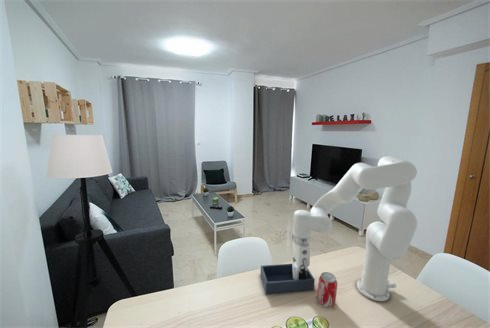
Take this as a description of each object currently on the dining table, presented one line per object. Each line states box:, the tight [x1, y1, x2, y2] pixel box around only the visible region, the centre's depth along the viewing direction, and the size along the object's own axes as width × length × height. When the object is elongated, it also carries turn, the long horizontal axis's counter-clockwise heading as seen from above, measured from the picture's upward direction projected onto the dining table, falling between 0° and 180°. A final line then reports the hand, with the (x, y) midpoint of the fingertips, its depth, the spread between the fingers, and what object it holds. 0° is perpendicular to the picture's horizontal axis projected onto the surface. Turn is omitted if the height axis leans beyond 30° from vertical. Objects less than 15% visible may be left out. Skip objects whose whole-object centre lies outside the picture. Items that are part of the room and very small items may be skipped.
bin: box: [260, 263, 315, 296], centre depth 101 cm, size 22×12×6 cm, turn 97°
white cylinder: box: [291, 260, 304, 280], centre depth 101 cm, size 7×7×7 cm
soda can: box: [316, 271, 338, 309], centre depth 90 cm, size 7×7×12 cm
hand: (298, 273), depth 102 cm, fingers closed on white cylinder, 6 cm apart
